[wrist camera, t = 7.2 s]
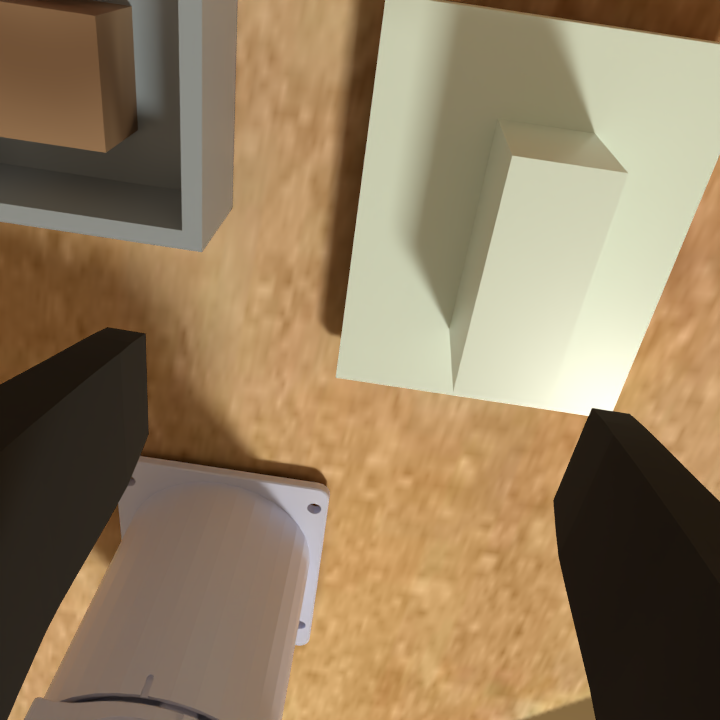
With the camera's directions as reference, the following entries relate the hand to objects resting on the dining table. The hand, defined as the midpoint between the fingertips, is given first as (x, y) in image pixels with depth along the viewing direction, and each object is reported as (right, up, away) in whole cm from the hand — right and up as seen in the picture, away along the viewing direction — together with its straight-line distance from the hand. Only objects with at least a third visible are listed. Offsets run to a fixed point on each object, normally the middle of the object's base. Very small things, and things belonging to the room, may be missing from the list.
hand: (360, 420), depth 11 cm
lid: (+4, +5, +8) cm, 10 cm away
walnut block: (-7, +9, +6) cm, 13 cm away
